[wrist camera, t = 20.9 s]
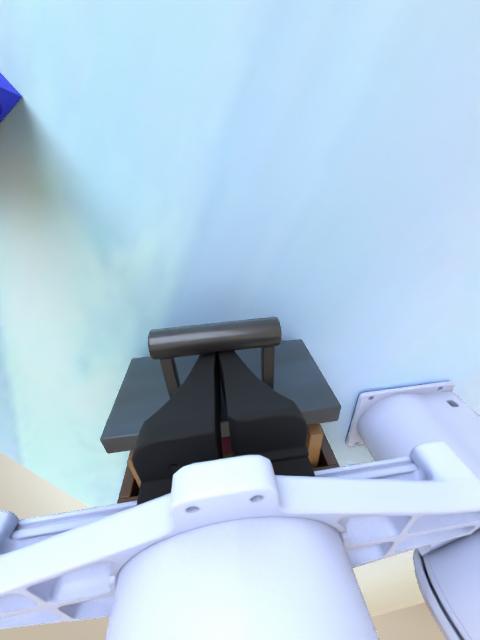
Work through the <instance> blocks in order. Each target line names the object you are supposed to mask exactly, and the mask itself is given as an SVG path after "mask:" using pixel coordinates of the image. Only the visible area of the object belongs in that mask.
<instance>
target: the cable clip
mask: <svg viewBox="0 0 480 640" xmlns="http://www.w3.org/2000/svg"><path fill="white" fill-rule="evenodd" d="M21 97H22V96H21V95H20V94H19V93H18V92H17V91H16V90H15V88H14V87H13V86H12V85H11V84H10V83H9V82H8V81H7V80H6V79H5V78H4V76H3V75H2V74H1V73H0V123H1V121H2V120H3V119H4V118H5V117H6V115H7V114H8V113H9V112H10V111H11V109H12V108H13V107H14V106H15V105H16V103H17V102H18V101H19V100H20V99H21Z"/></svg>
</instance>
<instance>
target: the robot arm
mask: <svg viewBox="0 0 480 640" xmlns="http://www.w3.org/2000/svg"><path fill="white" fill-rule="evenodd" d="M221 385H222V390H223V395H224V400H225V405H226V410H227V415H228V422H229V432H230V441H231V451H232V457H231V458H224V459H223V449H222V437H221V424H220V393H221ZM454 386H455V385H454V383H452V382H451V381H445V382H438V383H431V384H423V385H416V386H408V387H401V388H393V389H386V390H379V391H371V392H364V393H362V394H360V395H359V398H358V401H357V405H356V408H355V412H354V416H353V419H352V423H351V426H350V430H349V433H348V437H347V440H346V444H347V446H348V447H354V446H360V445H366V447H367V449H368V450H369V452H370V454H371V455H372V457H373V459H374V460H375V462H369V463H363V464H357V465H351V466H345V467H339V468H332V469H326V470H320V471H313V468H312V465H311V463H310V460H309V457H308V456H309V452H308V449H307V447H306V440H307V433H308V425H307V423H306V420H305V418H304V416H303V414H302V413H301V411H300V409H299V408H298V406H297V405H296V403H295V402H294V401H292V400H290V399H288V398H287V397H285V396H283V395H281V394H279V393H278V392H276V391H274V390H273V389H272V388H270V387H269V386H268V385H266V384H265V383H264V382H262V381H261V380H260V379H259V378H258V377H257V376H256V375H255V374H254V373H253V372H252V371H251V370H250V369H249V368H248V367H247V366H246V365H245V364H244V362H243V361H242V360H241V359H240V357H239V356H238V354H237V353H236V352H235V351H227V352H218V353H209V354H200V355H199V356H198V358H197V360H196V362H195V364H194V366H193V368H192V370H191V371H190V373H189V375H188V376H187V378H186V379H185V381H184V382H183V384H182V385H181V386H180V387H179V389H178V390H177V391H176V392H175V394H174V395H173V396H172V397H171V398H170V399H169V400H168V401H167V402H166V403H165V404H164V405H163V406H162V407H161V408H160V409H159V410H158V411H157V412H156V413H154V414H153V415H152V416H151V417H150V418H148V419H147V420H146V421H144V422H143V425H142V427H141V429H140V432H139V434H138V437H137V440H136V443H135V447H134V451H133V456H132V464H133V466H134V469H135V471H136V473H137V475H138V477H139V479H140V481H141V485H140V490H139V495H138V500H137V501H131V502H125V503H119V504H113V505H107V506H101V507H95V508H89V509H83V510H77V511H71V512H65V513H59V514H52V515H46V516H40V517H34V518H28V519H22V520H19V519H18V517H17V516H16V515H15V514H14V513H12V512H10V511H0V630H2V629H9V628H15V627H23V626H31V625H40V624H49V623H59V622H67V621H77V620H86V619H96V618H105V617H110V619H109V624H108V629H107V634H106V639H105V640H379V638H378V635H377V632H376V630H375V627H374V625H373V622H372V619H371V617H370V614H369V611H368V609H367V606H366V603H365V601H364V598H363V596H362V593H361V590H360V588H359V585H358V582H357V580H356V577H355V574H354V572H353V569H352V568H355V567H358V566H361V565H364V564H367V563H371V562H374V561H377V560H380V559H383V558H387V557H390V556H393V555H396V554H399V553H403V552H406V551H409V550H412V549H415V551H414V554H413V561H414V567H415V575H416V579H417V582H418V585H419V588H420V591H421V593H422V596H423V598H424V600H425V603H426V605H427V607H428V609H429V611H430V612H431V614H432V616H433V618H434V620H435V622H436V623H437V625H438V627H439V628H440V630H441V632H442V633H443V635H444V636H445V638H446V639H447V640H480V415H479V414H477V413H476V412H475V411H474V410H473V409H472V408H471V407H469V406H468V405H467V404H466V403H465V402H464V401H463V400H461V399H460V398H459V397H458V396H457V395H456V394H454V393H453V392H452V390H453V388H454Z"/></svg>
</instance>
